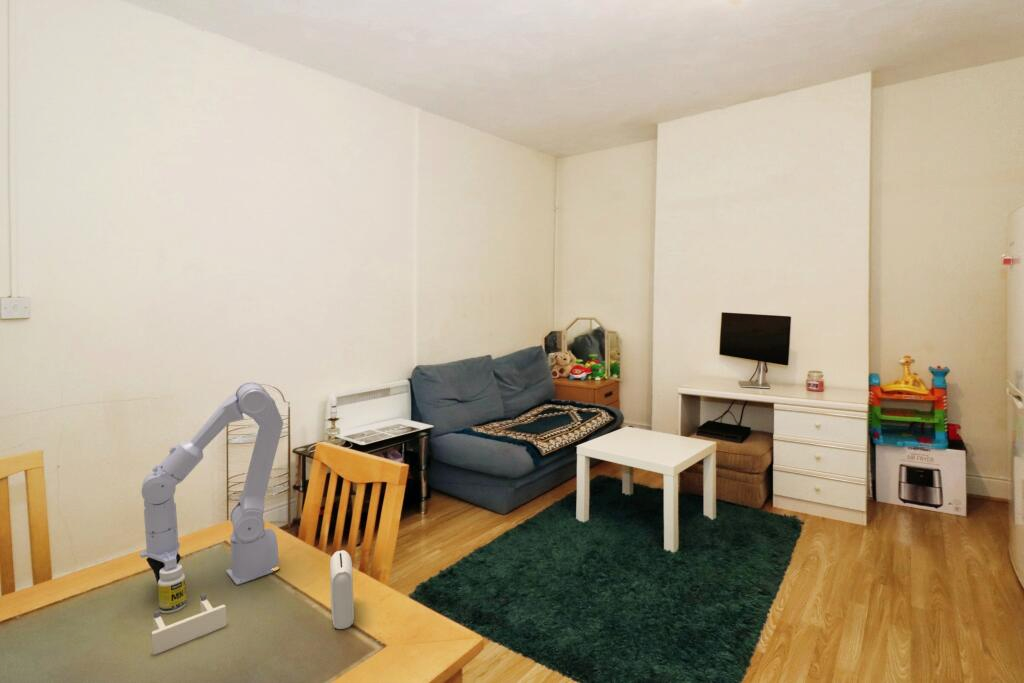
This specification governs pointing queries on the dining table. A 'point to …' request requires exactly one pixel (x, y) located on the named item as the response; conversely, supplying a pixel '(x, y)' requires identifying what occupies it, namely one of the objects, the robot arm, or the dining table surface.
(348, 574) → the photo printer
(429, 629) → the dining table surface
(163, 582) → the supplement bottle
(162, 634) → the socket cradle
